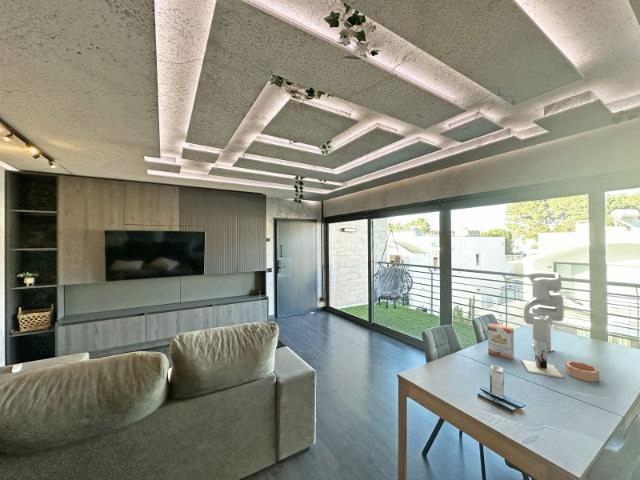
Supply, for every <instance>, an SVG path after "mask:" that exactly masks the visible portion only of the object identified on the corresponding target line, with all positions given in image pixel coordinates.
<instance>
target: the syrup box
mask: <svg viewBox="0 0 640 480" xmlns="http://www.w3.org/2000/svg"><path fill="white" fill-rule="evenodd" d="M490 393H491V394H494V395H497V396H499V397H503V398H504V395H505V368H504V367H502V366H498V365H495V364H492V365H490V368H489V394H490Z"/></svg>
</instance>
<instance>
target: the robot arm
mask: <svg viewBox="0 0 640 480" xmlns="http://www.w3.org/2000/svg"><path fill="white" fill-rule="evenodd" d="M528 278H529V280H530V282H531V283H532V298H531V299H530V300H528V301H527V302H526V304H525V305H524V308H523V321H524V322H525V324H527V325H530V326H532V339H533V343H532V344H531V347H532V349H533V350H532V351H533V353H534V357H535V358H534V359H535V361H536V356H537V357H540V360H541V361H540V367H541V368H545V369H547V364H548V360H547V358H548V352H554V351H555V349H554V347H552V340H551V339H552V335H551V334H552V332H551V331H552V329H551V326H553V323H554V322H562V321H563V320H564V316H565V314H564V298H563V296H562V295H561V294H560V293H555V292H560V291H561V290H562V283H563V282H562V276H561V274H560V273H559V272H550V271H548V272H547V271H530V272H529V273H528ZM553 292H554V293H553ZM531 308H532V309H531ZM530 309H531V312H530Z"/></svg>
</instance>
